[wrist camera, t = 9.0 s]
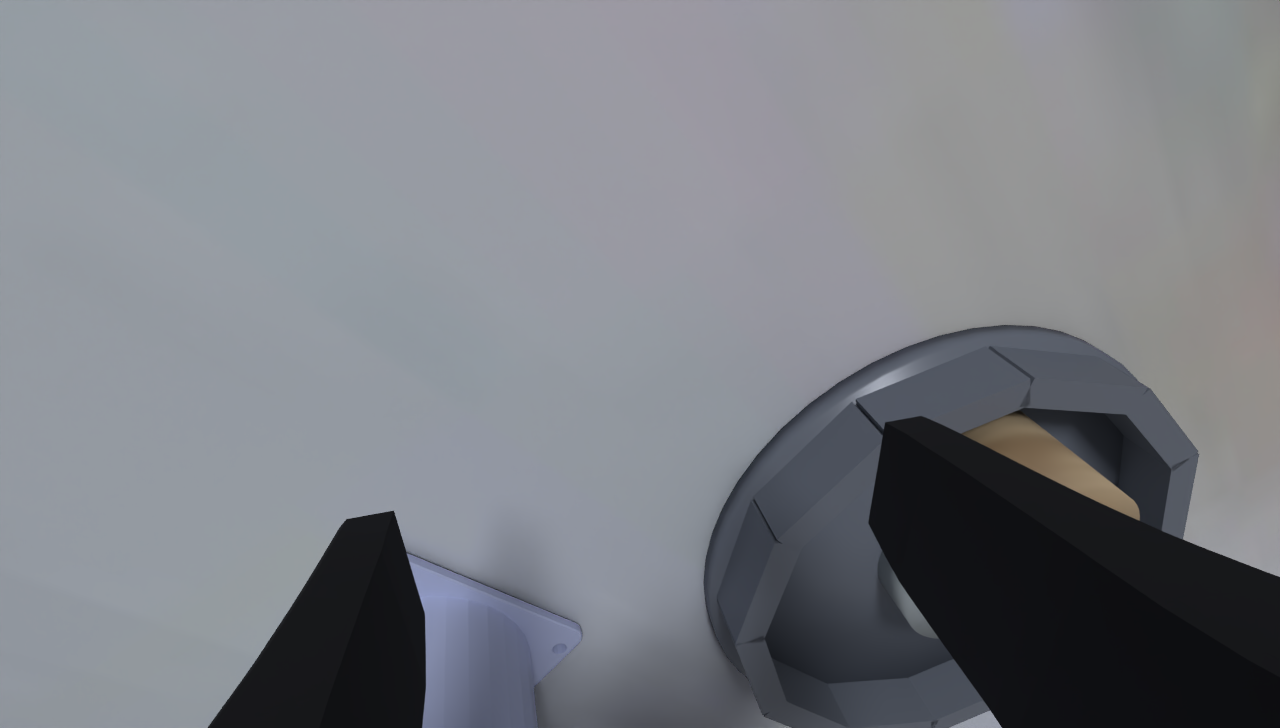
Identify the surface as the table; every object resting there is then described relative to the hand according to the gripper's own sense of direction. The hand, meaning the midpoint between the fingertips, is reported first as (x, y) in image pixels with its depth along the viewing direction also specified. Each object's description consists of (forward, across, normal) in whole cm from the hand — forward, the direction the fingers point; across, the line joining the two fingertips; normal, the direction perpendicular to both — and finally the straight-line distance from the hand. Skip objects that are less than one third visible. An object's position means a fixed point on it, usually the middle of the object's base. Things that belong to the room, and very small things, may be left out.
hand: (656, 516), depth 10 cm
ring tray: (+9, -13, +13) cm, 20 cm away
